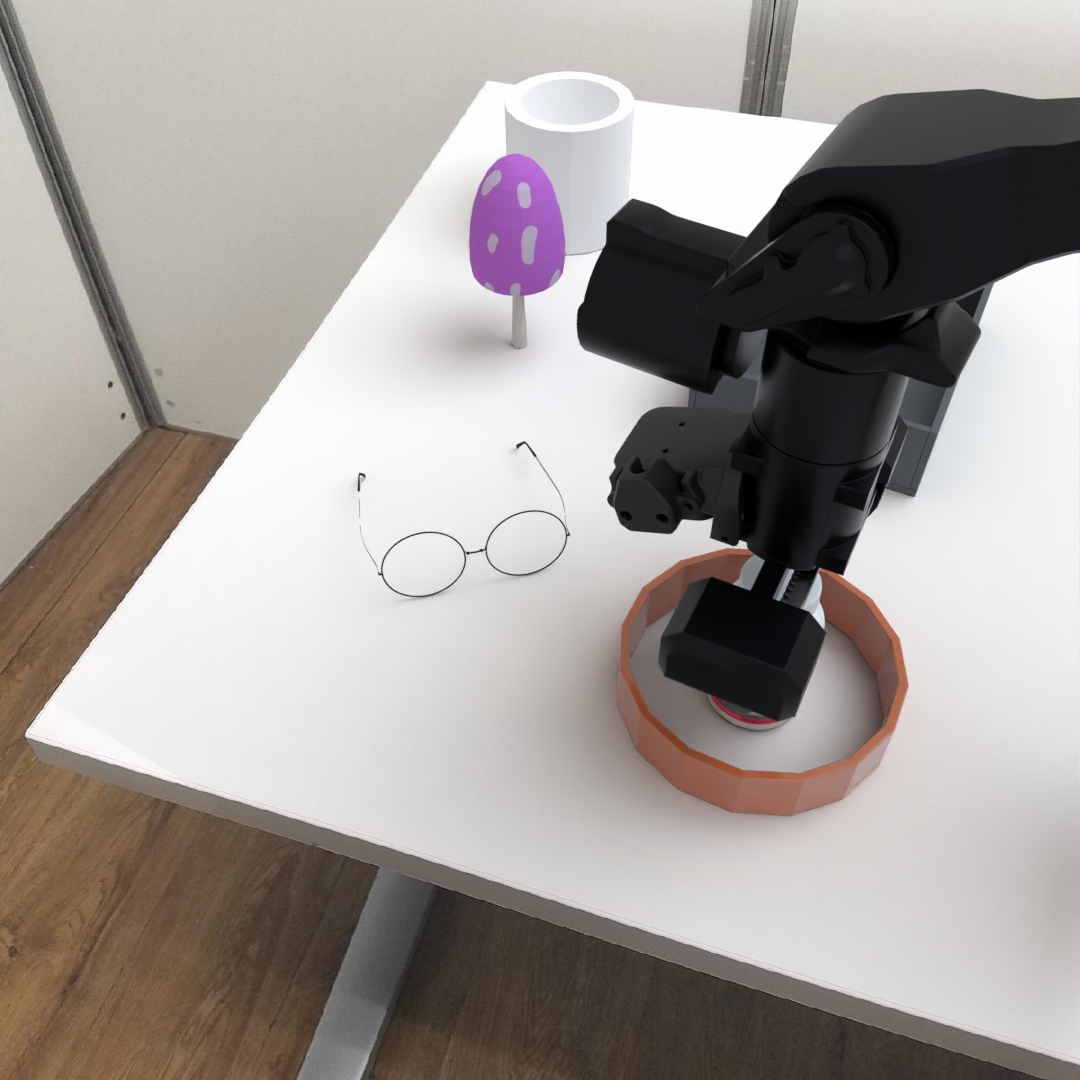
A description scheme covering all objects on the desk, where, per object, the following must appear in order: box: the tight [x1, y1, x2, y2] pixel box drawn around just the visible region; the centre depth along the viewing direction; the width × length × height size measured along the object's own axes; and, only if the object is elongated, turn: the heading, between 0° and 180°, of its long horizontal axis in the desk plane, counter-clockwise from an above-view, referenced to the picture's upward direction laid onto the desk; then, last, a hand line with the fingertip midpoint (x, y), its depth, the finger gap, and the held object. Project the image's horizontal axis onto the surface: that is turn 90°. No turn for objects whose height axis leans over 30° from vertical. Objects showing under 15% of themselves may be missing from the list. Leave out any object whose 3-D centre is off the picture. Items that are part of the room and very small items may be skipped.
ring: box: [616, 547, 910, 816], centre depth 58 cm, size 15×15×4 cm
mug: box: [504, 70, 635, 256], centre depth 89 cm, size 14×10×11 cm
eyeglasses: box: [356, 440, 571, 598], centre depth 66 cm, size 11×13×5 cm
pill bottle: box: [706, 555, 826, 731], centre depth 56 cm, size 5×5×10 cm
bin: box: [686, 283, 995, 497], centre depth 76 cm, size 16×21×6 cm
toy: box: [468, 154, 566, 349], centre depth 75 cm, size 7×7×15 cm
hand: (766, 642), depth 56 cm, fingers open, 9 cm apart
